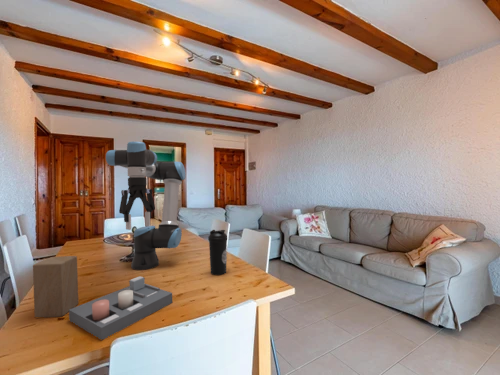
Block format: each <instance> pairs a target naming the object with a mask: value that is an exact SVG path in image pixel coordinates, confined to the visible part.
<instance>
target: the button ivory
mask: <svg viewBox="0 0 500 375" xmlns="http://www.w3.org/2000/svg"><path fill="white" fill-rule="evenodd" d="M131 306H133V291H132V290H124V291H121V292H119V293H118V308H119V309H127V308H129V307H131Z"/></svg>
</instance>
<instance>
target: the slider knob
mask: <svg viewBox="0 0 500 375" xmlns="http://www.w3.org/2000/svg"><path fill="white" fill-rule="evenodd" d="M145 284H146V283H145V277H143V276H140V275H139V276H137V277H134V278H132V279H129V286H130V290H133V291H136V290H139V289H141V288H144V287H145Z"/></svg>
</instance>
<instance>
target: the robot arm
mask: <svg viewBox="0 0 500 375" xmlns="http://www.w3.org/2000/svg"><path fill="white" fill-rule="evenodd" d="M126 145H127V146H126V149H111V150H107V152H106V153H105V162H106V163H107V165H109V166H111V167H112V166H114V167H117V166H118V167H122V168H125V169H127V176H128V178H127V186H128V188H127V189H126V190H125V189H121V192H120V193H121V198H120V205H119V212H118V213H119V214H122V215H123V222H124V223H125V229H126V230H128V231H131V230H132V215H131V214H130V212H131V210H132V208H133V206H134V203H135V201H136V199H140V200H141V202H142V205H143V207H144V209H145V212H144V225H145V226H142V227H138V228H136V229H134V231H133V245H134V246H133V250H134V251H133V253H134V254H133V258H132V261H131V263H130V264H131V266H130V267H131V269H132V270H135V271H144V270H150V269H154V268H156V267H157V266H159V265H160V260H159V257H158V254H157V252H156V250H157V249H168V250H169V249H175V248H177V247H178V246H180V243H181V241H182V229H181V228H180V225H179V224H178V220H177V219H178V206H179V192H180V185H181V184H183V180H185V179H186V169H185V166H184V164H183V163H182V162H181V161H176V160H175V161H158V155H157V154H156V153H155V152H154V151H153V150H151V149H147V146H146V143H145V142H142V141H128V142H127V144H126ZM147 178H149V179H151V180H152V179H153V180H158V181H162V183H163V184H164V192H163V201H162V202H163V205H162V213H161V222H160V223H159V224H158V228H157V227H156V225H151V219H152V213H153V211H155V210H156V206H155V202H154V197H153V189H152V188H147Z"/></svg>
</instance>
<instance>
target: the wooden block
mask: <svg viewBox="0 0 500 375" xmlns="http://www.w3.org/2000/svg"><path fill="white" fill-rule="evenodd" d="M32 276H33V277H32V278H33V303H34V305H33V306H34V318H35V317H44V318H57V317H58V318H59V317H64V316H65V315H66V314H67V313H69V309H72V308H74V307H77V306H78V305H79V281H78V280H79V279H78V277H79V276H78V256H77V255H69V256H68V255H67V256H66V255H65V256H51V257H47V258H46V259H43V260H41V261H39V262H37V263H34V264H33V265H32Z"/></svg>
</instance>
